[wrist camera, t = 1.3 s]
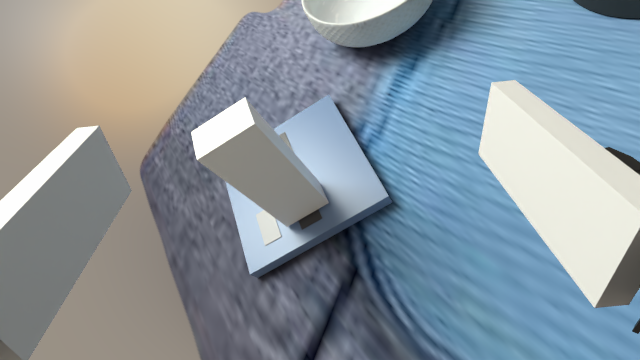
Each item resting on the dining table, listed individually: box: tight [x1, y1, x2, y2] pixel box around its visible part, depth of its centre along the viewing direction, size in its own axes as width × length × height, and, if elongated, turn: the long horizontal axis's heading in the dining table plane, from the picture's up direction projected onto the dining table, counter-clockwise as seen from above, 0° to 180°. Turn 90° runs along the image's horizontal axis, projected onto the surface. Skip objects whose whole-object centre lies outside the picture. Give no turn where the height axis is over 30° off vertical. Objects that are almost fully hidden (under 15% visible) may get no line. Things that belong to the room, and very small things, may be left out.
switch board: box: [226, 95, 392, 278], centre depth 41 cm, size 16×16×2 cm
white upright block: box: [191, 98, 329, 227], centre depth 33 cm, size 3×5×14 cm, turn 111°
